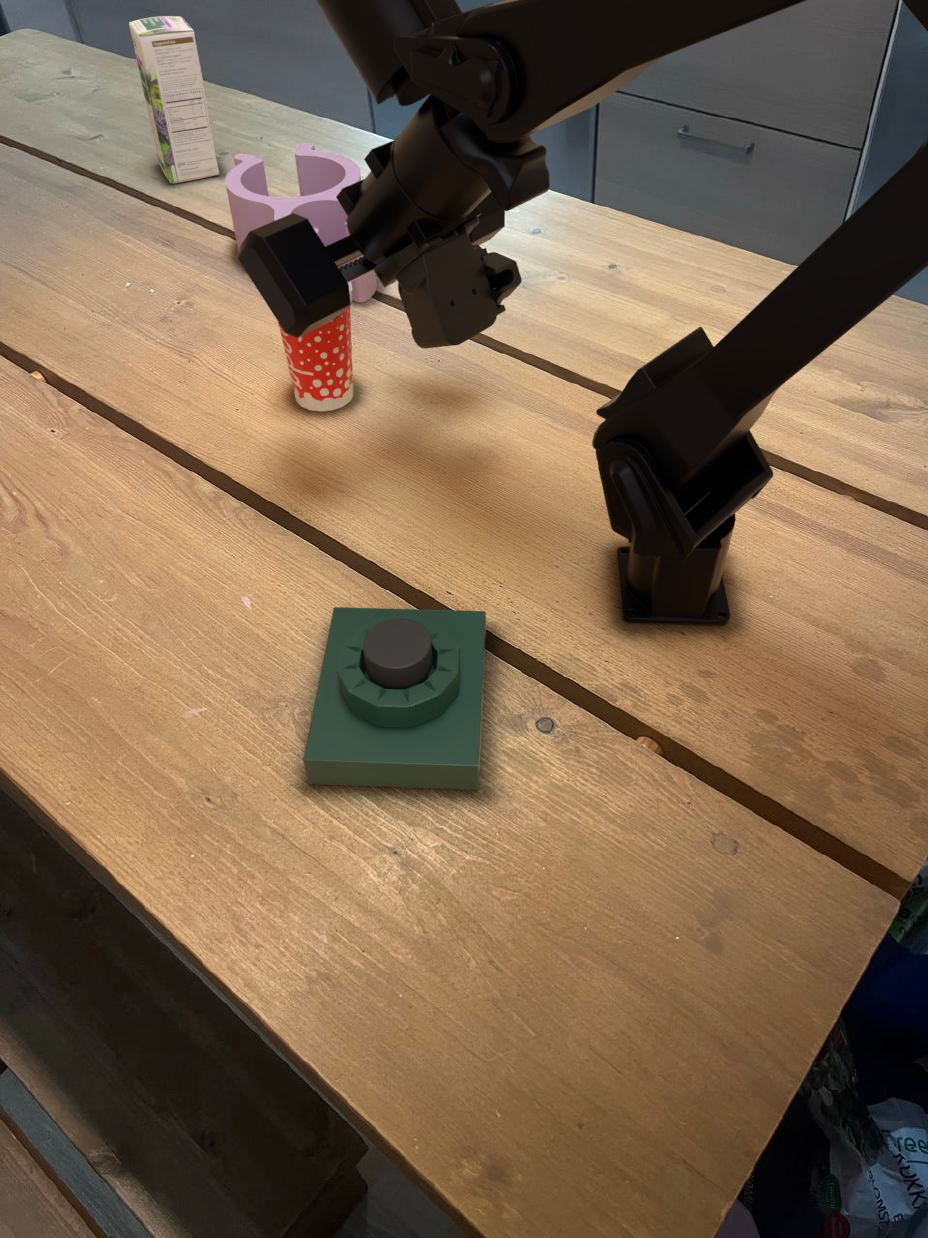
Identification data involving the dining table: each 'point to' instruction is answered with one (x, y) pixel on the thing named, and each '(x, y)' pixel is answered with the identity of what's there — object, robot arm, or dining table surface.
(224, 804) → the dining table surface
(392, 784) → the green button box
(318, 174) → the clip
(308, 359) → the beverage cup
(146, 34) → the syrup box
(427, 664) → the push button
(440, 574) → the dining table surface
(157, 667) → the dining table surface
